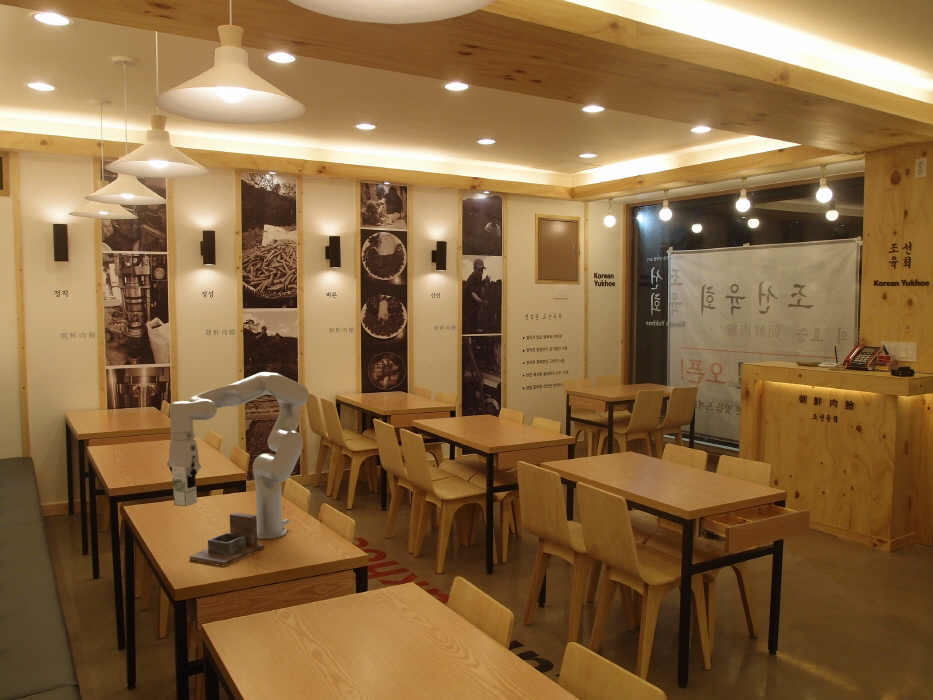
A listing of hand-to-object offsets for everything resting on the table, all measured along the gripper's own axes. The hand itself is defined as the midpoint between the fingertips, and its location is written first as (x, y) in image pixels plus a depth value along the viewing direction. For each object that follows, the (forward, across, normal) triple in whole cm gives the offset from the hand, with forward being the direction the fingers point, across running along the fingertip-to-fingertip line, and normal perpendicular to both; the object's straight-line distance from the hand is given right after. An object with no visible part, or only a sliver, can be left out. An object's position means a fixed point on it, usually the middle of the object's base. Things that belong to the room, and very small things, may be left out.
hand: (184, 485), depth 260 cm
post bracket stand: (+25, -12, -6) cm, 29 cm away
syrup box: (+7, 0, 0) cm, 7 cm away
